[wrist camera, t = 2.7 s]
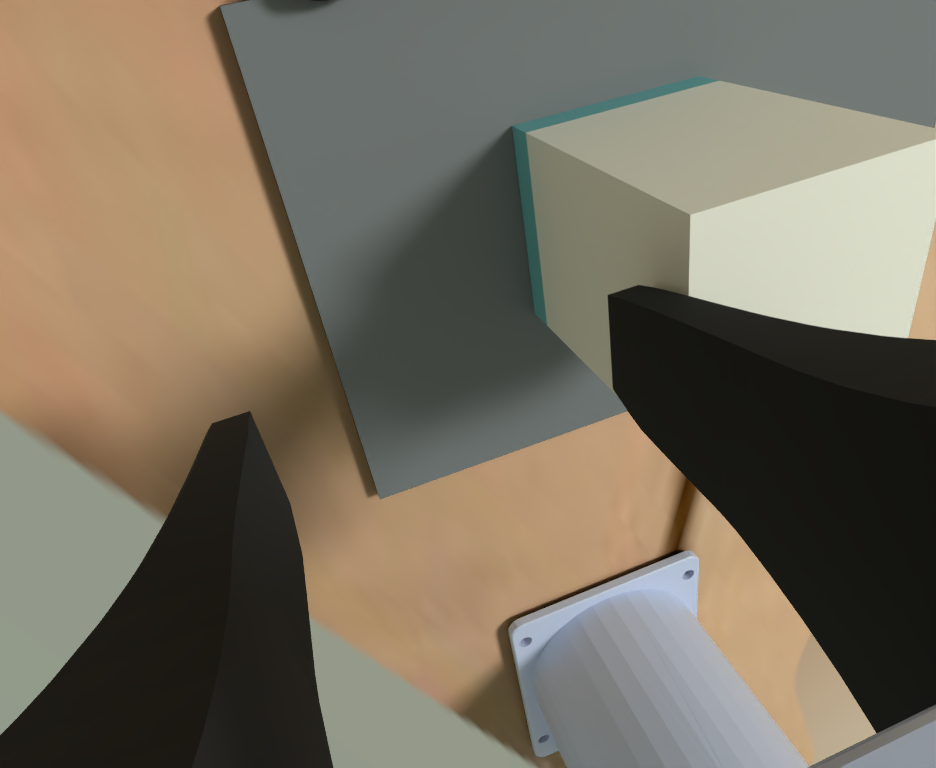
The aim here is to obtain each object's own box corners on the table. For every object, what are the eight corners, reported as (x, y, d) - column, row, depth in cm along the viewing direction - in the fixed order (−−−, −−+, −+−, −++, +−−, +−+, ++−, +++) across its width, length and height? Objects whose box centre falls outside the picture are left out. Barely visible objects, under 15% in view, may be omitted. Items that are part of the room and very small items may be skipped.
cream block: (693, 261, 20) (897, 381, 14) (534, 313, 19) (685, 463, 13) (699, 75, 17) (956, 132, 11) (512, 125, 16) (690, 214, 10)
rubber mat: (884, 310, 24) (893, 316, 24) (377, 490, 21) (380, 499, 20) (980, -155, 17) (996, -158, 16) (219, 5, 13) (220, 6, 13)
